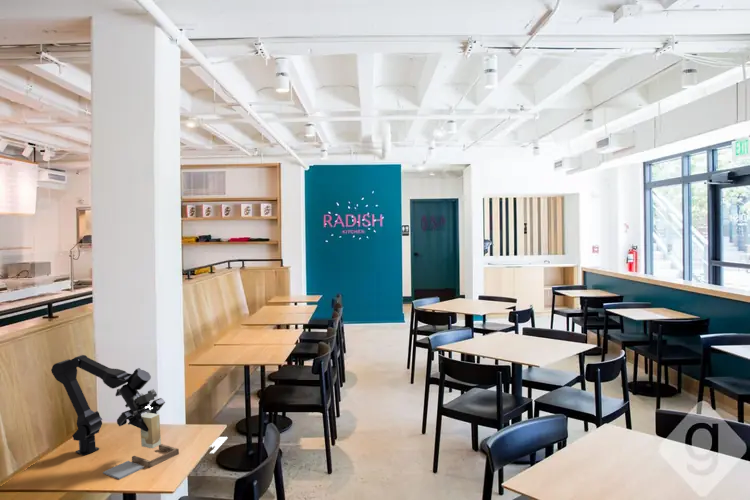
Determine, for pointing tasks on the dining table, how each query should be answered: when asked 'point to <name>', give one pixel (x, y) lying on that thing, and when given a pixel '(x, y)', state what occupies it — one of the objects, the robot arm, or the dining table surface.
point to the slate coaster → (123, 470)
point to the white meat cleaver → (217, 444)
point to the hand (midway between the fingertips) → (152, 428)
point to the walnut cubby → (147, 463)
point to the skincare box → (151, 431)
